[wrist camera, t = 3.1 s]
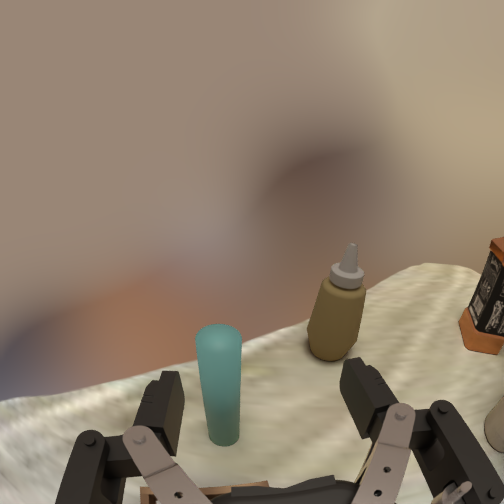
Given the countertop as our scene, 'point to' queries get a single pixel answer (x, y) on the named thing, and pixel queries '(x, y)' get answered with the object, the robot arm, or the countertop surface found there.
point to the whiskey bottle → (487, 306)
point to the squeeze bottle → (338, 309)
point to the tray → (149, 499)
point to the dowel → (220, 380)
